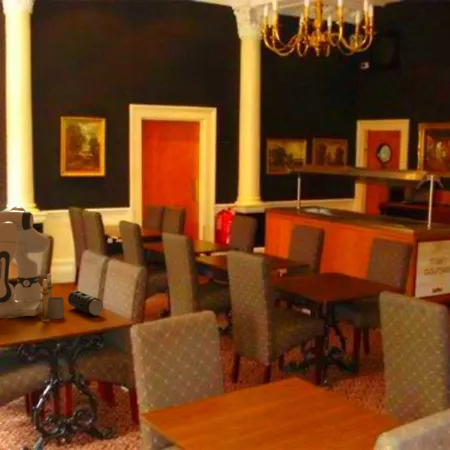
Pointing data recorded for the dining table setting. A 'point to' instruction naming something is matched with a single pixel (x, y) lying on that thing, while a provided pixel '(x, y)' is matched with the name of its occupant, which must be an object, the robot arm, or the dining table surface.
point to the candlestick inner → (49, 285)
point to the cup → (56, 307)
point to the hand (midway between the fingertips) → (47, 308)
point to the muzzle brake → (85, 303)
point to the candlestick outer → (45, 302)
